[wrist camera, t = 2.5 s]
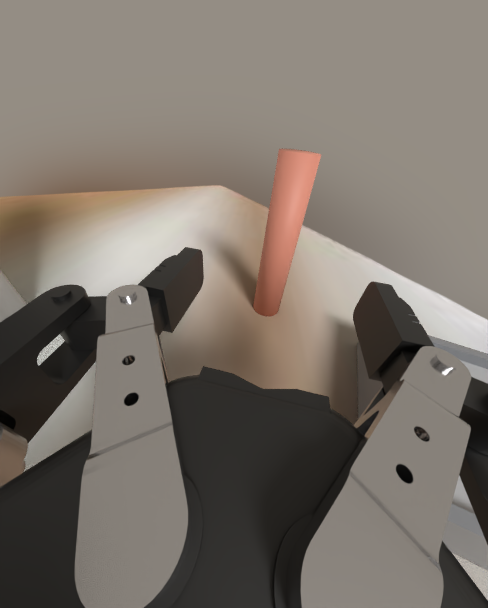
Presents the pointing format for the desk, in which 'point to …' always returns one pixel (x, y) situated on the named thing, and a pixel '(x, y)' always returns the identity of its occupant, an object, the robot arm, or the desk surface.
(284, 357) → the desk surface
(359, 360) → the grey square hole base
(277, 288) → the peg
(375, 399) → the robot arm
